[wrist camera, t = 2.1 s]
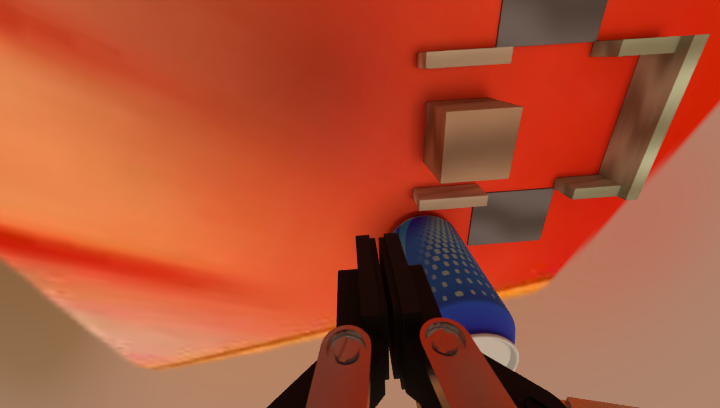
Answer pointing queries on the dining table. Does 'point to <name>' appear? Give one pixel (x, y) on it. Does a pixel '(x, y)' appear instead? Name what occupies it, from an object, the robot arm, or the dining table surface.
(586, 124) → the dining table surface
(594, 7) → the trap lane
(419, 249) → the beer can
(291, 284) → the dining table surface
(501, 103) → the walnut block
